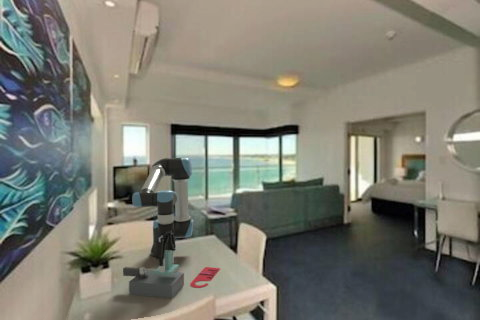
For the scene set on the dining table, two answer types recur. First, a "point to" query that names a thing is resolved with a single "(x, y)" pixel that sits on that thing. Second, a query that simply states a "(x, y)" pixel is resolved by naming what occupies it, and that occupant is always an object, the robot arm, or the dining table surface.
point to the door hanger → (204, 276)
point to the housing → (157, 284)
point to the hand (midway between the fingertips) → (166, 267)
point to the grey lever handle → (134, 272)
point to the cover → (167, 264)
